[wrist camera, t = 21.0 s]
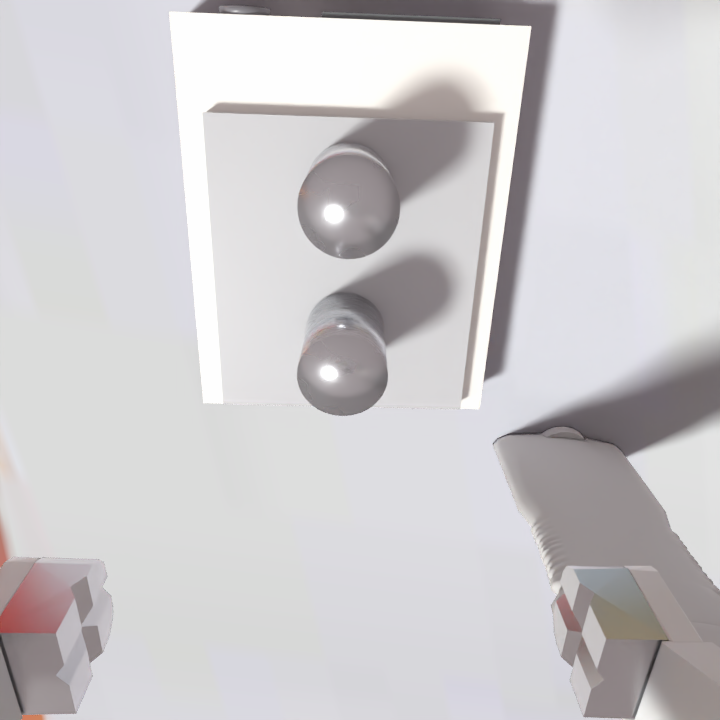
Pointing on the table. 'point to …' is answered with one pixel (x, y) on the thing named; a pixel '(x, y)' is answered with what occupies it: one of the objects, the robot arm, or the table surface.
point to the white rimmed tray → (291, 165)
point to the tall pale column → (600, 517)
